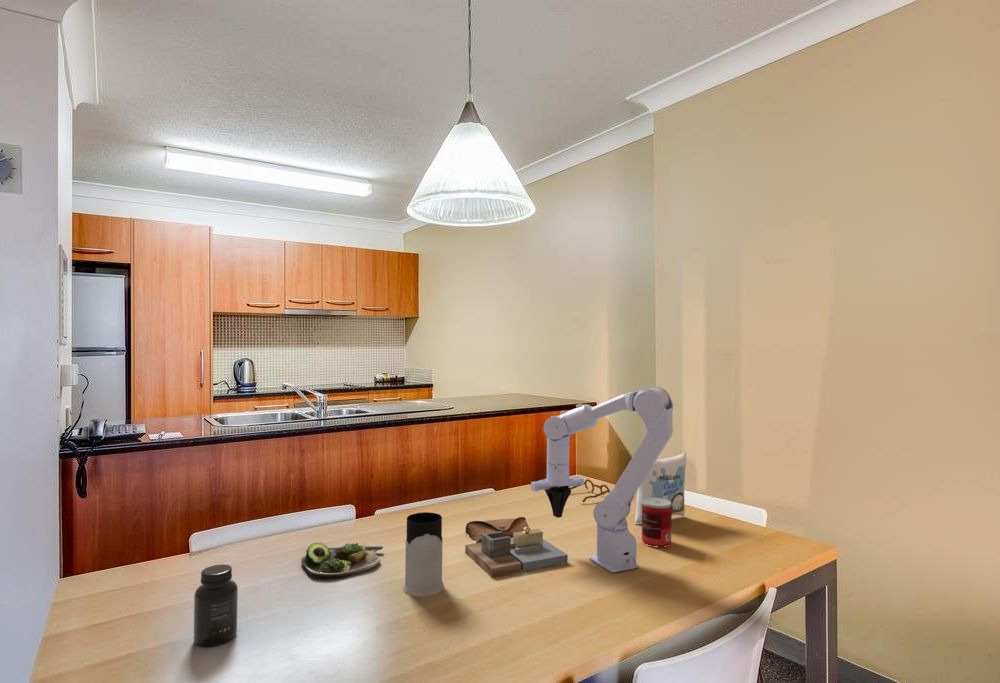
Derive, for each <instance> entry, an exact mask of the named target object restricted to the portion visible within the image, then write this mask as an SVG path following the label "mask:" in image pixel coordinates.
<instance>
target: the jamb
mask: <svg viewBox="0 0 1000 683" xmlns="http://www.w3.org/2000/svg"><path fill="white" fill-rule="evenodd" d="M464 547H465V548H464V553H465V554H466V555H467V556H468V557H469V558H470V559H471V558H472V559H471V560H472V561H473V560H474V561H475V562H474V561H473V562H474V563H475V564H476V565H477V566H478V567H480V568H481V569H482V570H483V571H484V572H485V573H486V574H487V573H488V576H490V577H491V578H496V576H497V577H501V576H506V575H507V574H508V575H512V573H513V574H518V573H521V572H522V570H521V563H520V562H519V561H518V560H516V559H515V558H514V557H512V556H511V555H510V549H511V537H509V536H506V537H503V532H502V531H498V532H491V533H484V534H482V539H481V542H480V543H474V542H473V543H468V544H465V546H464ZM517 572H518V573H517Z"/></svg>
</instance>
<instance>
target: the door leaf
mask: <svg viewBox="0 0 1000 683" xmlns="http://www.w3.org/2000/svg"><path fill="white" fill-rule="evenodd" d="M510 555H511V556H512V557H514V558H515V559H516V560H518V561H519V562H520V563H521V572H528V571H527V570H529V571H533V569H534V570H539V569H543V568H542V567H545V568H548V567H547V566H550V567H553V565H555V566H559V565H558V564H561V565H563V564H562V563H566V564H568V563H567V562H569V561H568V558H569V557H568V556H569V554H567V553H565V552H564V551H563V550H561V549H560V548H558V547H556V546H555V545H553V544H552V543H550V542H549V541H547V540H545V539H544V538H543V546H542V545H540V544H538V545H532V546H526V547H520V548H513V538H511V549H510ZM538 568H539V569H538Z"/></svg>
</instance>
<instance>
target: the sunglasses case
mask: <svg viewBox="0 0 1000 683" xmlns="http://www.w3.org/2000/svg"><path fill="white" fill-rule="evenodd" d="M524 527H529V525H528V522H527V518H526V517H524V516H520V517H519V516H518V517H514V518H501V519H492V520H474V521H473V520H472V521H469V522H467V524H466V525H465V534H466V533H467V534H468V535H469V537H470V538H471V539H472V540H474V541H476V542H480V543H481V539H482V534H484V533H491V532H498V531H502V532H503V537H506V536H509V537H511V538H513V533H515V532H521V531H524ZM529 530H531V528H530V527H529ZM467 534H466V535H467ZM469 537H468V538H469ZM470 538H469V539H470ZM471 539H470V540H471ZM472 540H471V541H472Z"/></svg>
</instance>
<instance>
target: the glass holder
mask: <svg viewBox="0 0 1000 683" xmlns="http://www.w3.org/2000/svg"><path fill="white" fill-rule="evenodd" d="M442 531H443V516H442V515H441V514H438V513H435V512H424V511H423V512H416V513H412V514H410V515H408V516H407V517H406V539H405V557H404V558H405V559H404V560H405V564H404V566H405V571H404V573H405V574H404V575H405V577H404V578H405V580H404V584H403V587H402V591H403V592H404V593H405V594H406V595H408V596H410V597H417V598H427V597H432V596H435V595H438V594H440V593H442V591H444V589H445V585H444V582H443V535H442V533H443V532H442Z"/></svg>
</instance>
